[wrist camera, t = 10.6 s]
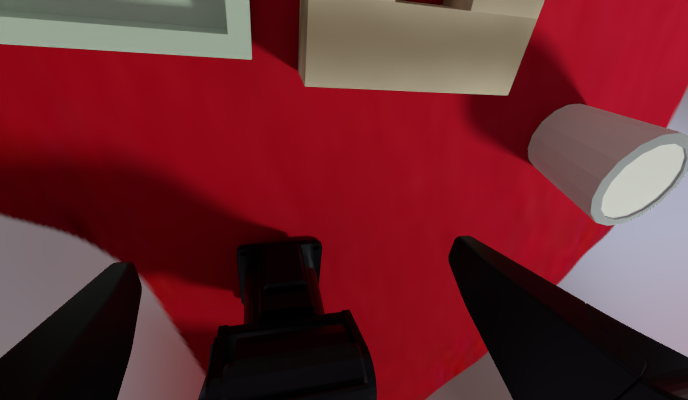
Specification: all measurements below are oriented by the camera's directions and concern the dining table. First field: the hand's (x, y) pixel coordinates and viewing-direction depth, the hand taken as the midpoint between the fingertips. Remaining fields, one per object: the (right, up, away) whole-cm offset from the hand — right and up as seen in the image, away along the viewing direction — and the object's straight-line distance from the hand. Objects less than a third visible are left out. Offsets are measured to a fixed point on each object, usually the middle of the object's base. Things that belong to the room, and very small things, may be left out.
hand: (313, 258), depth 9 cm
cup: (+18, +7, +17) cm, 26 cm away
